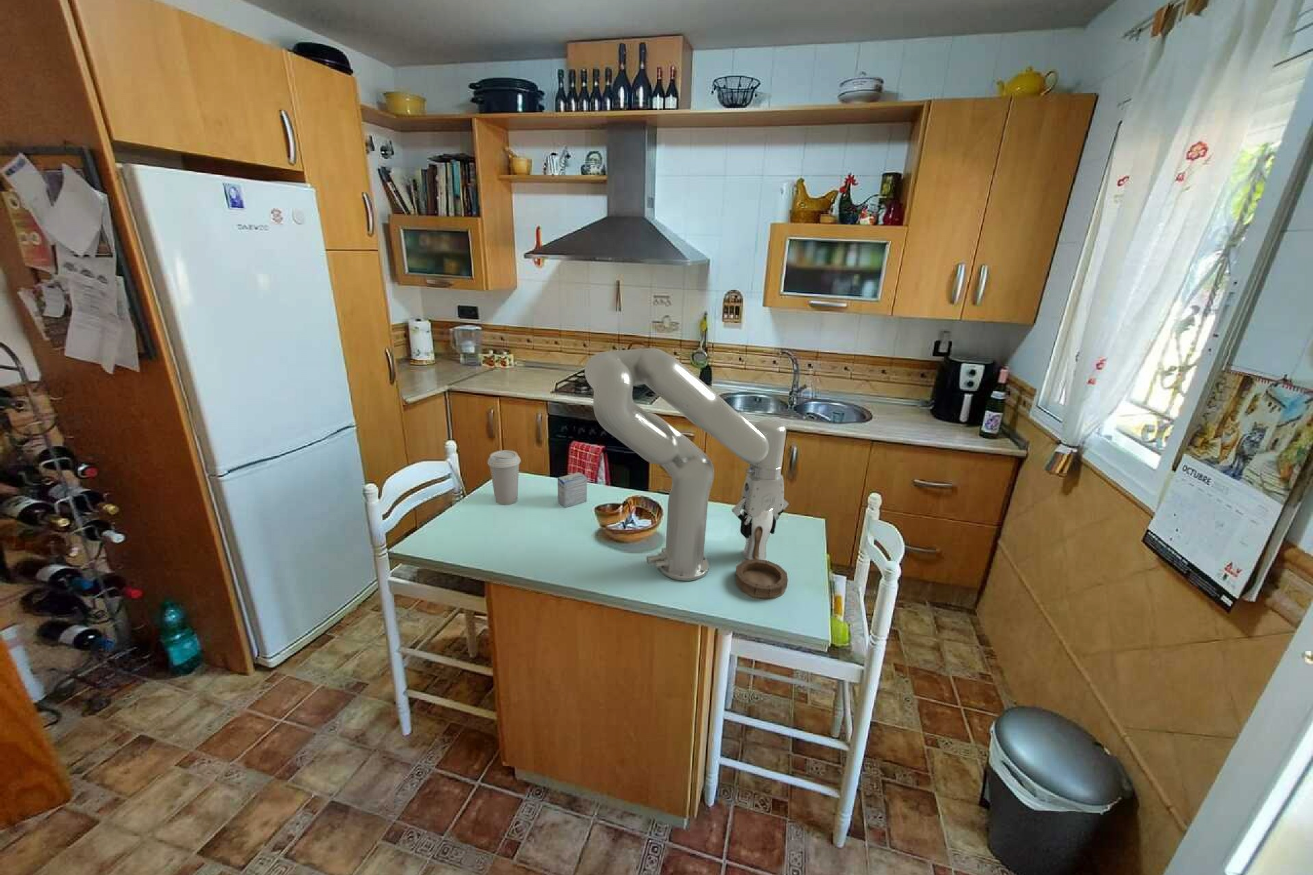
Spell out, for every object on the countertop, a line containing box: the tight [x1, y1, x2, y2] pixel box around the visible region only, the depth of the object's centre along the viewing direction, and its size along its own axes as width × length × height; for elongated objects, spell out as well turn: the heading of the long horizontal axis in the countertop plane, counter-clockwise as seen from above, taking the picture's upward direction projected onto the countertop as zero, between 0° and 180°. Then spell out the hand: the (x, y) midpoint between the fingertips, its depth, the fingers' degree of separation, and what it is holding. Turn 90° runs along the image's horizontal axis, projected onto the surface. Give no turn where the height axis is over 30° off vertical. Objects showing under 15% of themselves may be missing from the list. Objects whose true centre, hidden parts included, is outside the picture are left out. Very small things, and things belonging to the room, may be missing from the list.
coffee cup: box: [487, 449, 522, 506], centre depth 156 cm, size 10×10×15 cm
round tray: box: [734, 559, 789, 600], centre depth 124 cm, size 12×12×3 cm
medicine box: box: [557, 472, 588, 509], centre depth 158 cm, size 8×4×9 cm, turn 130°
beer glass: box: [742, 509, 774, 560], centre depth 133 cm, size 7×7×15 cm
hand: (757, 533), depth 133 cm, fingers closed on beer glass, 6 cm apart
